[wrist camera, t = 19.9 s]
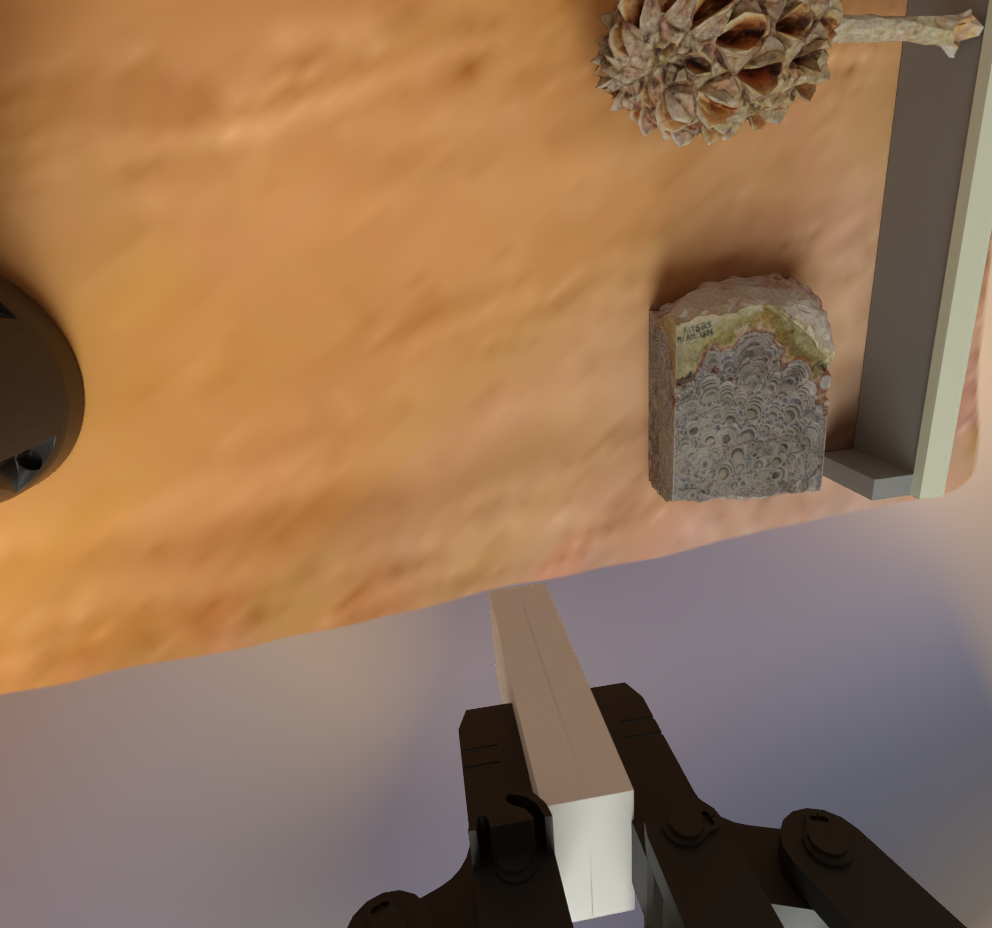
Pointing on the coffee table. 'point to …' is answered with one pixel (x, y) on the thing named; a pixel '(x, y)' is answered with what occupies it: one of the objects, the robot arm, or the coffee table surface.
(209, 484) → the coffee table surface
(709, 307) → the geological specimen
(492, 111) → the coffee table surface
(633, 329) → the coffee table surface
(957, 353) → the end rail
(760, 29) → the pine cone
